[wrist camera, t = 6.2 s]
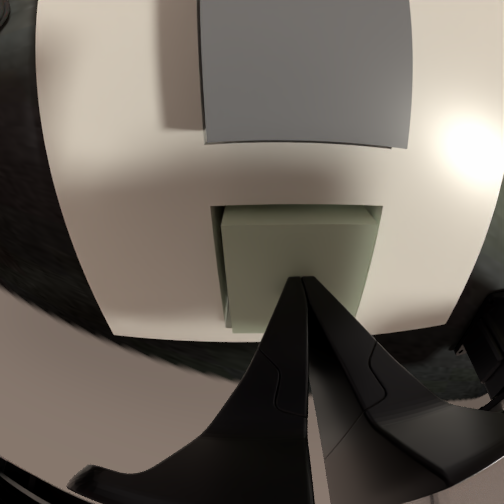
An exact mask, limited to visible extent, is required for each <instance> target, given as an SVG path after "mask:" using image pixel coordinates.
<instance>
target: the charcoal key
mask: <svg viewBox="0 0 504 504" xmlns="http://www.w3.org/2000/svg"><path fill="white" fill-rule="evenodd" d="M200 26H201V52H202V73H203V91H204V107H205V122H206V135H207V143H210V142H226V141H252V140H302V141H328V142H344V143H357V144H368V145H378V146H387V147H395V148H402V149H407V147H408V138H409V129H410V118H411V104H412V81H413V48H412V26H411V13H410V3H409V0H200Z"/></svg>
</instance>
